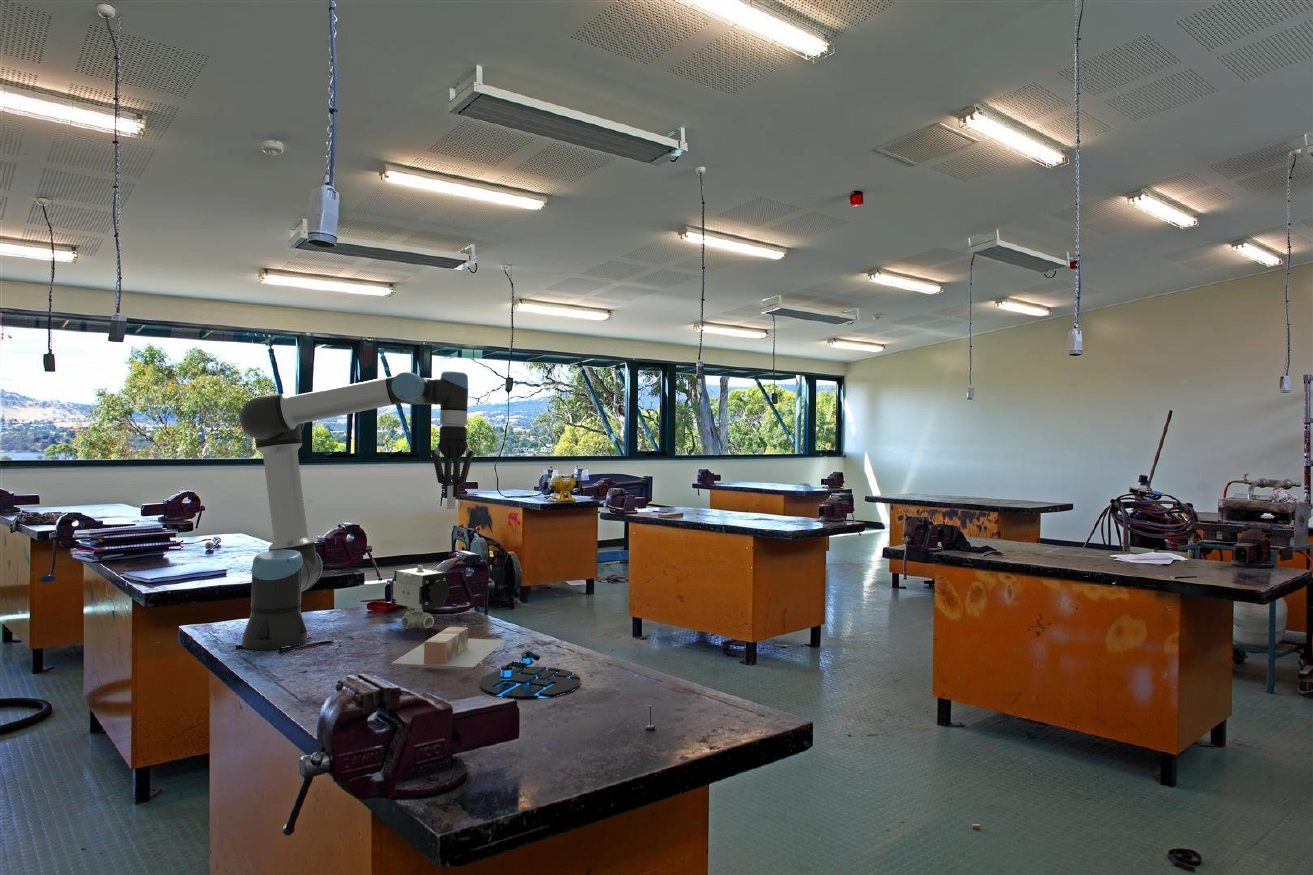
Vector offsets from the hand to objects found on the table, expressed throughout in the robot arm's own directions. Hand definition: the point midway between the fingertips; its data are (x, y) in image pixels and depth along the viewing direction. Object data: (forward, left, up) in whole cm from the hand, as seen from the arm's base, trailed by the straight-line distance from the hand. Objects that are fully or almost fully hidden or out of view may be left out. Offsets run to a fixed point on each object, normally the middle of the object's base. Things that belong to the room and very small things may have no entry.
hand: (451, 508), depth 217 cm
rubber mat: (+22, -14, -34) cm, 43 cm away
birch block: (+19, -10, -31) cm, 38 cm away
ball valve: (-8, -5, -35) cm, 36 cm away
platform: (+55, -16, -35) cm, 67 cm away
